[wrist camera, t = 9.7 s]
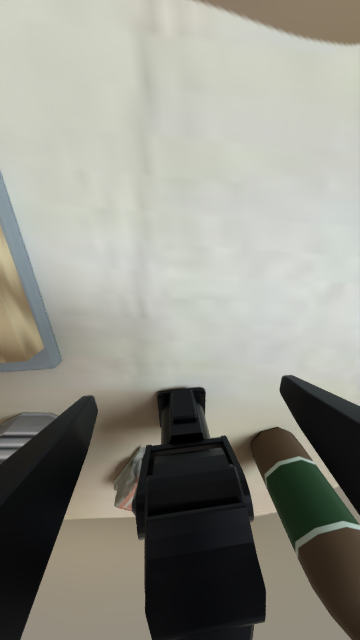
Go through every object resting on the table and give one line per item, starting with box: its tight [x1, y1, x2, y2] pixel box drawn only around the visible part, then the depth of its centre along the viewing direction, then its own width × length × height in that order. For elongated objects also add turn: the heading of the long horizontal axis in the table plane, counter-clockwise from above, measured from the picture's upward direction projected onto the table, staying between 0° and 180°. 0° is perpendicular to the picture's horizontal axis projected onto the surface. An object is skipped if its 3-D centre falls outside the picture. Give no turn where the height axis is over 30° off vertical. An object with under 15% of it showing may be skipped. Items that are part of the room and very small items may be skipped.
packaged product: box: [114, 447, 146, 511], centre depth 28 cm, size 18×5×10 cm
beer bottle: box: [251, 427, 360, 640], centre depth 18 cm, size 8×8×24 cm
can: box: [0, 413, 58, 464], centre depth 19 cm, size 11×11×12 cm
